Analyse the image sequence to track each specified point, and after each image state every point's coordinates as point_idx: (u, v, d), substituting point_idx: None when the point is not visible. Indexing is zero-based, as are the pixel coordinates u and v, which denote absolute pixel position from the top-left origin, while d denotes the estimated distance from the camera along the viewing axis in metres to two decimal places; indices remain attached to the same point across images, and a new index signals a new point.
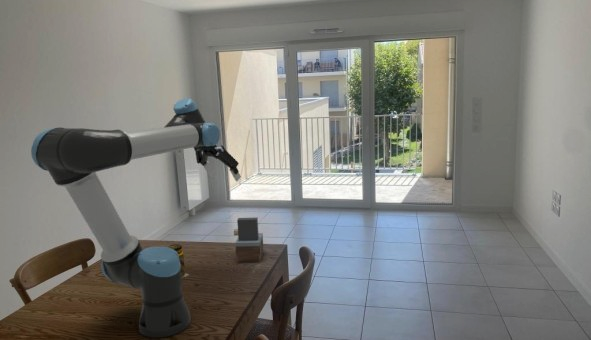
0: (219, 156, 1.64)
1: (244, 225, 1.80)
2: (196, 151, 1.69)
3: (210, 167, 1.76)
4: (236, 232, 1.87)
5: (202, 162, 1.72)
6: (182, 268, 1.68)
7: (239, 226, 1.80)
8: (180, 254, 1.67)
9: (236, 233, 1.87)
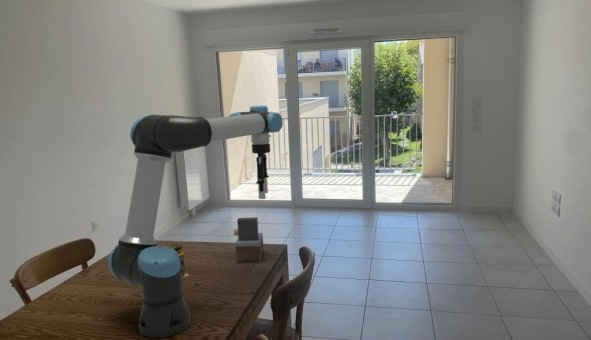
0: None
1: (244, 225, 1.80)
2: None
3: (265, 184, 1.89)
4: (236, 232, 1.87)
5: None
6: (182, 268, 1.68)
7: (239, 226, 1.80)
8: (180, 254, 1.67)
9: (236, 233, 1.87)
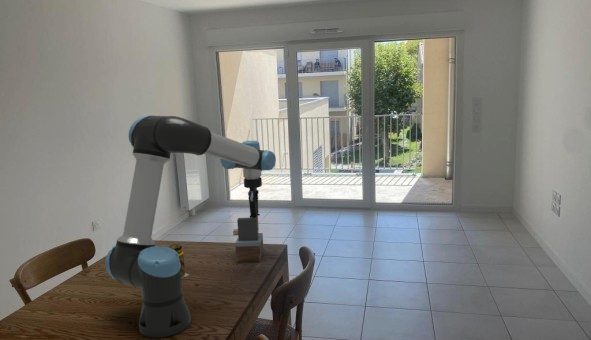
0: None
1: (244, 225, 1.80)
2: None
3: None
4: (235, 232, 1.87)
5: None
6: (182, 268, 1.68)
7: (239, 226, 1.80)
8: (180, 254, 1.67)
9: (235, 233, 1.87)
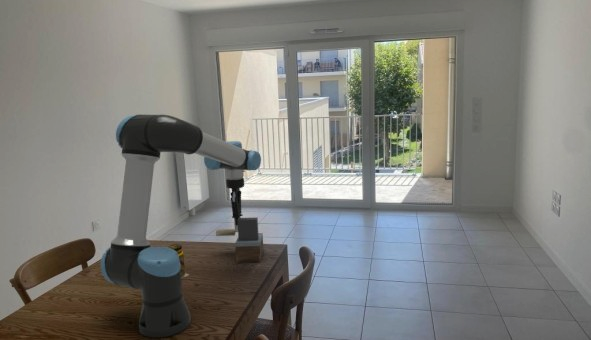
0: None
1: (244, 225, 1.80)
2: None
3: None
4: (218, 232, 1.87)
5: None
6: (182, 268, 1.68)
7: (239, 226, 1.80)
8: (180, 254, 1.67)
9: (218, 233, 1.87)
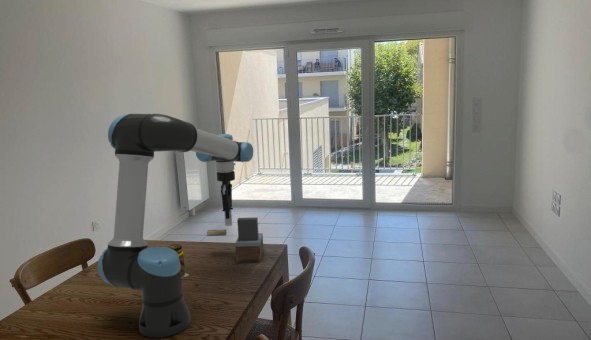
0: None
1: (244, 225, 1.80)
2: None
3: None
4: (209, 233, 1.87)
5: None
6: (182, 268, 1.68)
7: (239, 226, 1.80)
8: (180, 254, 1.67)
9: (209, 234, 1.87)
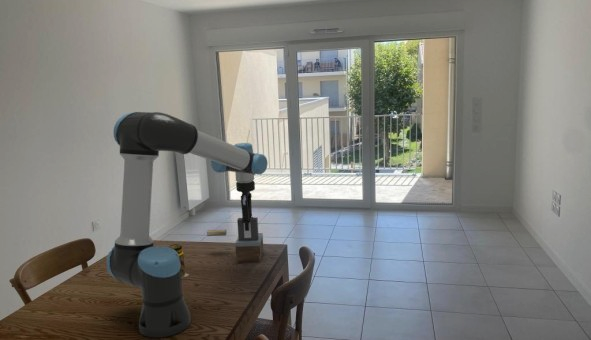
0: None
1: None
2: None
3: None
4: (209, 233, 1.87)
5: None
6: (182, 268, 1.68)
7: (239, 226, 1.80)
8: (180, 254, 1.67)
9: (209, 234, 1.87)
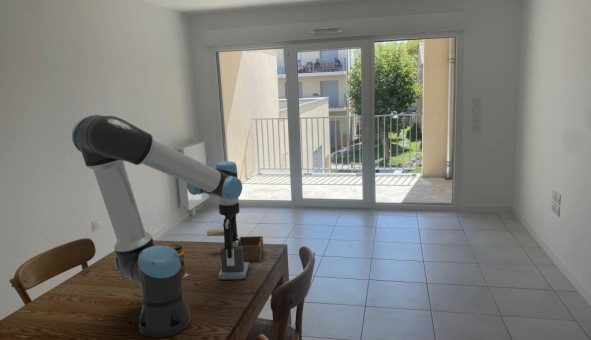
0: None
1: None
2: None
3: None
4: (209, 233, 1.87)
5: None
6: (182, 268, 1.68)
7: (222, 256, 1.64)
8: (180, 254, 1.67)
9: (209, 234, 1.87)
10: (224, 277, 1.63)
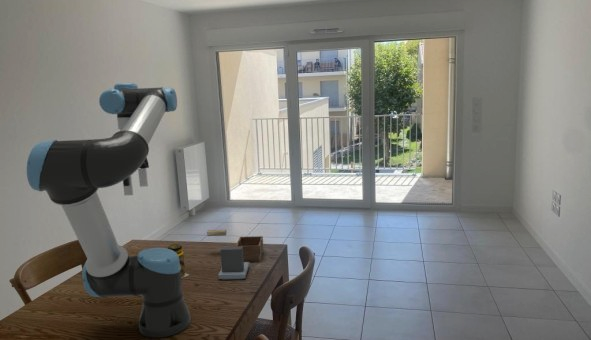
0: None
1: (228, 255, 1.64)
2: None
3: (143, 176, 1.58)
4: (209, 233, 1.87)
5: None
6: (182, 268, 1.68)
7: (222, 256, 1.64)
8: (180, 254, 1.67)
9: (209, 234, 1.87)
10: (224, 277, 1.63)
